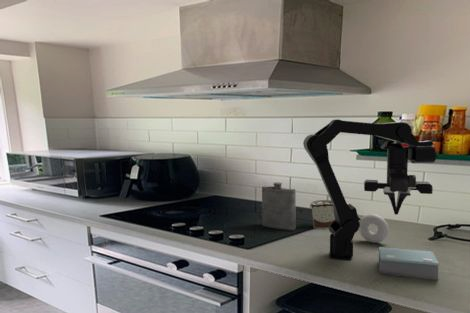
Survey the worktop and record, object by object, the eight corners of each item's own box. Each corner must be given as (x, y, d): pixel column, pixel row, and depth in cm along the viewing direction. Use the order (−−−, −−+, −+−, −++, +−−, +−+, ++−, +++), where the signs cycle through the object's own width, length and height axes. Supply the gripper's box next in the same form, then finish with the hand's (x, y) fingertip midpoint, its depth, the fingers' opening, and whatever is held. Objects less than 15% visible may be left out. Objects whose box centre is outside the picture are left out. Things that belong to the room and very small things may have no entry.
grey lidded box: (380, 273, 101) (380, 259, 100) (378, 261, 109) (378, 248, 109) (437, 280, 96) (438, 265, 96) (431, 267, 105) (431, 253, 104)
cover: (380, 259, 100) (380, 256, 100) (379, 248, 109) (379, 245, 109) (438, 265, 95) (439, 261, 95) (432, 253, 104) (432, 250, 104)
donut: (356, 241, 128) (357, 213, 127) (359, 238, 131) (360, 211, 130) (386, 246, 122) (387, 217, 121) (389, 243, 125) (390, 214, 124)
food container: (336, 223, 151) (336, 199, 150) (341, 227, 145) (341, 202, 144) (306, 224, 150) (306, 200, 149) (310, 228, 144) (310, 203, 143)
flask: (292, 231, 141) (292, 184, 139) (260, 226, 149) (259, 181, 147) (296, 229, 144) (296, 183, 142) (264, 223, 152) (264, 180, 150)
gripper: (365, 166, 107) (364, 218, 108) (437, 167, 101) (435, 223, 103) (364, 162, 117) (363, 210, 119) (429, 163, 112) (428, 213, 113)
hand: (396, 214), depth 113 cm, fingers closed
